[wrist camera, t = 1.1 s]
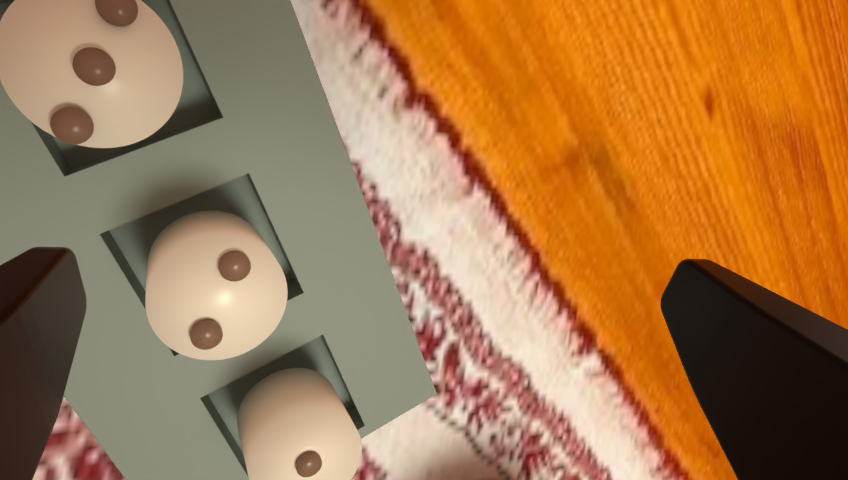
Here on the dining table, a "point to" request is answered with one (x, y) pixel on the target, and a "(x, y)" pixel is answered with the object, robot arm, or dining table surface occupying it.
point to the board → (218, 191)
